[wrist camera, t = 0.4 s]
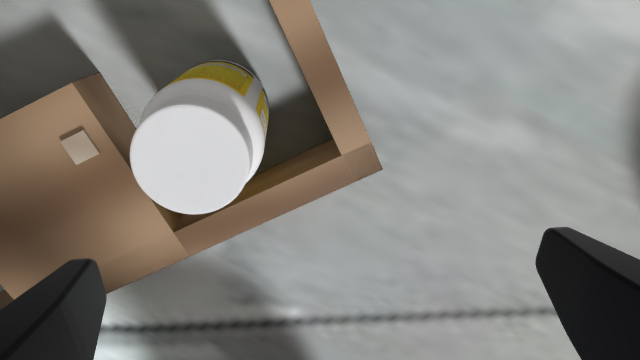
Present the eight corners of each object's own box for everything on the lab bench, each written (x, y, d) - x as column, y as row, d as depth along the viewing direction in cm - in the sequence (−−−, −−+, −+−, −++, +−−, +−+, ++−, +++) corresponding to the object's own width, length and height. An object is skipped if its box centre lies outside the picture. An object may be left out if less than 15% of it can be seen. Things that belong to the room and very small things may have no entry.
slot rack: (371, 150, 24) (383, 170, 21) (-85, 358, 27) (-131, 402, 24) (294, -27, 21) (296, -32, 18) (-219, 233, 23) (-293, 266, 20)
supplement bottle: (154, 94, 22) (83, 143, 14) (230, 39, 21) (198, 58, 14) (215, 168, 24) (181, 248, 16) (288, 119, 23) (289, 177, 15)
